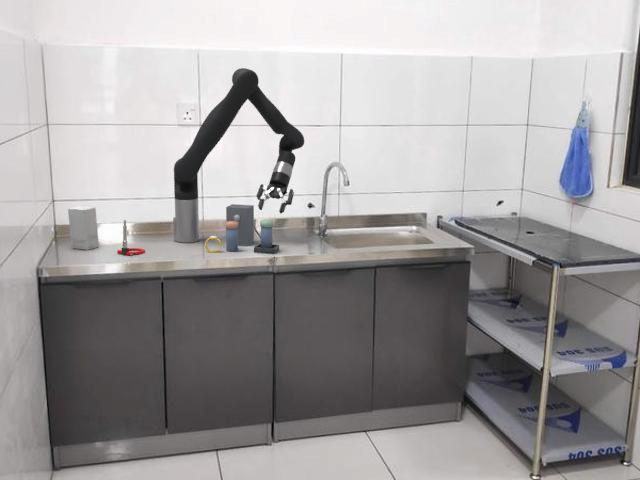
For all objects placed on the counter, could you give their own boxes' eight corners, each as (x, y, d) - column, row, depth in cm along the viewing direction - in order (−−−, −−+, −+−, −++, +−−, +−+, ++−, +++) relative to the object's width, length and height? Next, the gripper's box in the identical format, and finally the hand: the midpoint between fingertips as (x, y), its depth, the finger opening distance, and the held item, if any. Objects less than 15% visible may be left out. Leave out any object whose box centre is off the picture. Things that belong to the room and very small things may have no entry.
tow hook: (133, 250, 252) (115, 253, 244) (133, 216, 250) (114, 219, 242) (149, 253, 248) (131, 257, 240) (149, 219, 246) (131, 221, 238)
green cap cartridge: (258, 250, 250) (258, 221, 248) (262, 247, 255) (262, 219, 253) (270, 251, 249) (270, 222, 247) (274, 248, 254) (274, 220, 252)
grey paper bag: (99, 247, 254) (97, 207, 250) (86, 250, 248) (84, 209, 244) (82, 244, 257) (80, 205, 254) (69, 248, 251) (67, 207, 248)
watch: (221, 251, 251) (222, 236, 250) (220, 253, 249) (221, 238, 248) (205, 250, 251) (206, 235, 250) (204, 252, 248) (205, 236, 247)
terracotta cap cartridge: (223, 251, 251) (223, 223, 248) (228, 248, 255) (228, 220, 253) (235, 252, 250) (235, 223, 247) (240, 249, 254) (239, 221, 252)
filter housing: (225, 244, 262) (225, 207, 258) (232, 240, 269) (232, 204, 266) (247, 246, 260) (247, 208, 256) (254, 241, 267) (253, 205, 264)
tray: (253, 252, 250) (253, 247, 249) (259, 248, 256) (259, 243, 256) (274, 254, 248) (274, 248, 248) (279, 249, 255) (279, 244, 254)
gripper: (262, 168, 265) (251, 203, 259) (296, 173, 262) (285, 209, 255) (266, 177, 272) (255, 212, 266) (299, 182, 268) (289, 218, 262)
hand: (270, 210), depth 261 cm, fingers open, 8 cm apart
